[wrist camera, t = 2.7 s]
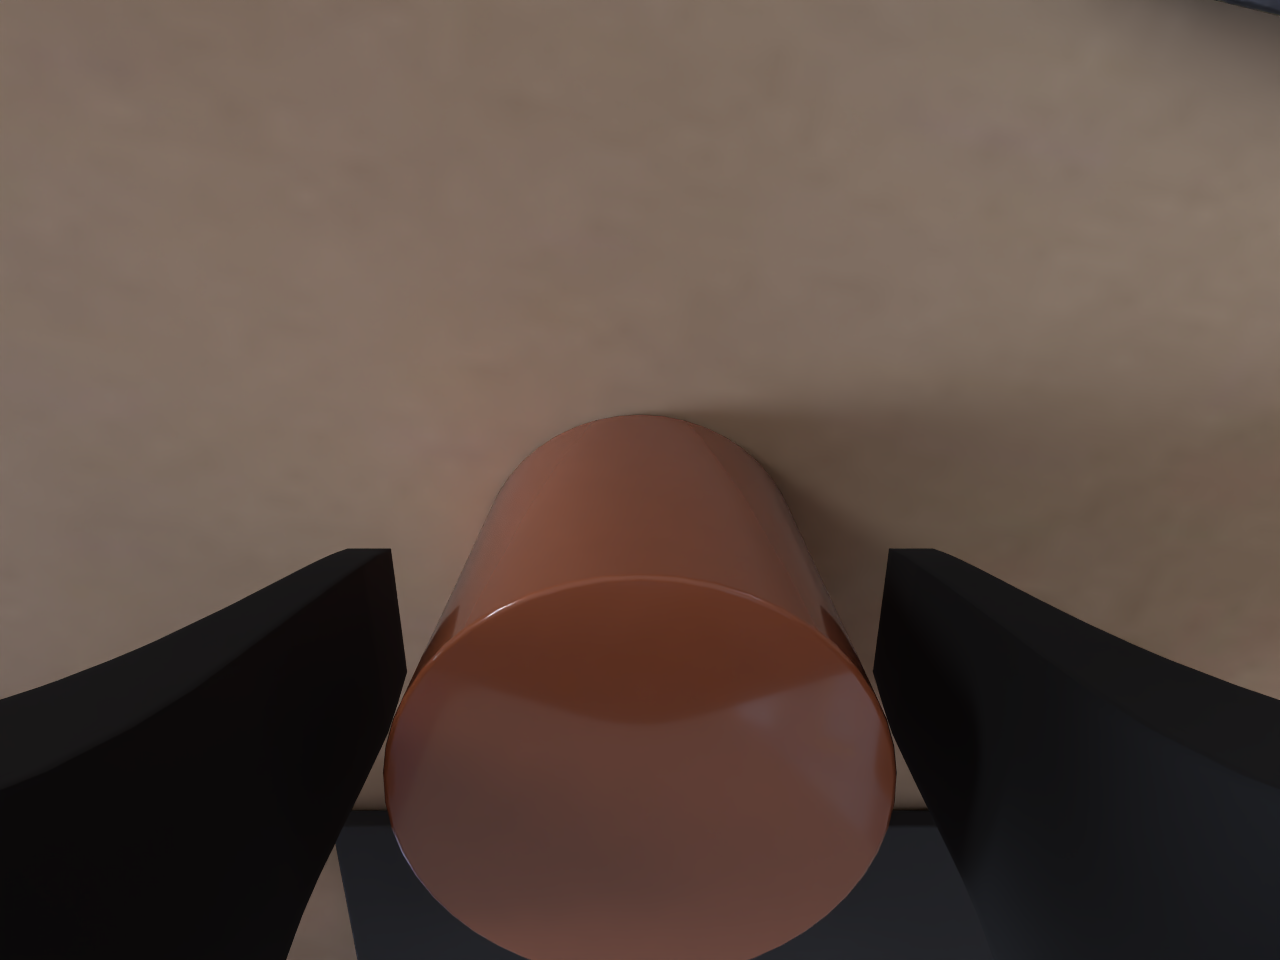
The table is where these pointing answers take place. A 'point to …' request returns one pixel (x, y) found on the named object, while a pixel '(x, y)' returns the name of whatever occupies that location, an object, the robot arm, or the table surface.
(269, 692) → the robot arm
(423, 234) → the table surface
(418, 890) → the mat
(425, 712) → the copper cylinder
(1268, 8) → the decorative plate
